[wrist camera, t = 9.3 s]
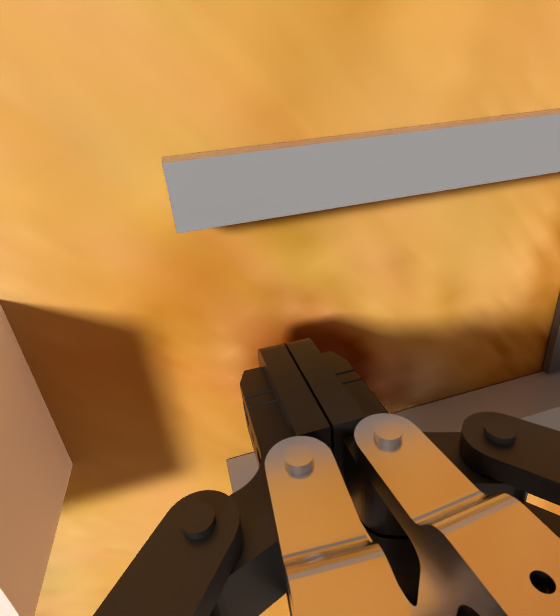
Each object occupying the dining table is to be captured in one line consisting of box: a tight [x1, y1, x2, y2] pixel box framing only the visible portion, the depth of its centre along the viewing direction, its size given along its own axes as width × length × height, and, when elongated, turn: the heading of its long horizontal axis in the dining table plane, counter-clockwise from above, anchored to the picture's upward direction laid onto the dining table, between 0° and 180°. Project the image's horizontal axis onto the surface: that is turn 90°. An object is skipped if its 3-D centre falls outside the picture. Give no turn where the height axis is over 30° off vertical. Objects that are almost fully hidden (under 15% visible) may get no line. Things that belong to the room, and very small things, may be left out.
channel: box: [162, 108, 560, 493], centre depth 14 cm, size 20×12×2 cm, turn 95°
